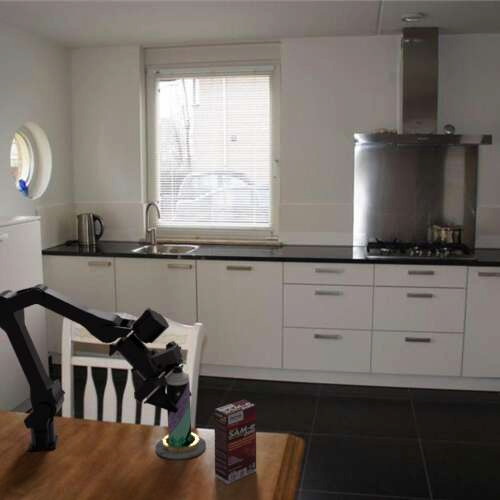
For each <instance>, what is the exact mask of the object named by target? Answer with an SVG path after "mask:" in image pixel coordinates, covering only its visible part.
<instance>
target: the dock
mask: <svg viewBox="0 0 500 500" xmlns="http://www.w3.org/2000/svg"><path fill="white" fill-rule="evenodd" d="M206 448H207V443H206V440H204V439H203V438H202V437H201V436H199V435H197V434H196V433H194V432H192V431H191V444H190V445H187V446H180V447H176V446H171V445H169V438H168V434H166V435H165V436H164V437H163V438H162V439H160V440H159V441H158V442H157V443H156V446H155V452H156V454H157V455H158V456H160V457H161V458H163V459H167V460H171V461H182V460H190V459H193V458H197V457H198V456H200V455H202V454H203V453H205V451H206Z"/></svg>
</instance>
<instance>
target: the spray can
mask: <svg viewBox="0 0 500 500" xmlns="http://www.w3.org/2000/svg"><path fill="white" fill-rule="evenodd" d="M165 381H166V385H165V386H166V387H165V389H166V394H167V395H168V396H169V397H170V399H171V400H172V401H173V403H174V404H175V405H176V407H177V408H178V412H177V413H173V412H171V411H168V410H166V411H167V433H168V434H167V435H168V438H169V445H171V446H176V447H180V446H187V445H190V444H191V432H192V422H191V421H192V420H191V416H192V415H191V396H190V392H191V390H190V388H191V387H190V377H189V374H188V373H187V372H184V370H183V369H181V367H180V365H179V366H174V370H173V371H172V373H171V374H169V375H167V379H165Z"/></svg>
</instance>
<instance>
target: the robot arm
mask: <svg viewBox="0 0 500 500" xmlns="http://www.w3.org/2000/svg"><path fill="white" fill-rule="evenodd" d="M34 305H38V306H40V307H43V308H45V309H47V310H49V311H51V312H52V313H55V314H57V315H59V316H62V317H63V318H66V319H67V320H69V321H72V322H74V323H76V324H78V325H80V326H82V327H83V328H84V330H85V329H86V331H87V332H88V333H89V334H90V335H91V336H93V337H94V338H95V339H97V340H99V341H100V342H101V343H103V344H108V347H109V350H108V356H109V357H112V356H114V355H115V354H117V353H118V354H119V355H120V356H121V357H123V359H124V360H125V361H126V362H127V363H128V364H129V365H130V366H131V369H130V372H131V373H132V374H134V373H135V372H137V374H138V375H139V376H140V377H141V378H142V379H143V381H142V384H141V385H140V386H139V387H138V388H137V389H136V390H135V391H134V392H133V397H134V399H135V401H136V402H137V403H139V404H141V403H143V405H144V404H148V405H151V406H155V407H157V408H160V409H163V410H165V411H167V410H168V411H171V412H173V413H177V412H178V408H177V407H176V405H175V404H174V403H173V401H172V400H171V399H170V397H169V396H168V395H167V391H166V390H165V389H166V387H165V386H166V385H165V384H166V379H167V375H169V374H171V373H172V371H173V370H174V366H180V365H181V366H180V367H181V369H182V370H183V368H184V364H182V363H183V362H184V360H183V354H182V352H181V350H182V346H180V345H179V344H178V343H176V341H174V340H172V341H170V342H168V343H166V345H165V348H164V349H162V350H161V351H157V350H156V349H154V348H152V349H150V348H149V347H147V345H148V343H150V344H154V342H155V341H157V339H158V338H159V337H160V336H162V334H163V333H164V332H165V331H167V330H168V329H169V328H170V325H169V323H168V321H167V320H166V317H164V316H163V315H162V314H161V313H158V312H157V311H155V310H152V308H150V307H147V308H146V309H145V310H144V311H143V313H142V314H141V315H140V316H139V317H138V318H137V319H132V318H125V317H124V318H123V317H122V316H121V315H119V314H117V313H114V312H110V311H107V310H102V309H95V308H91V307H88V306H87V305H85V304H82V303H80V302H79V301H76V300H74V299H72V298H70V297H68V296H66V295H64V294H62V293H60V292H58V291H55V290H53V289H51V288H50V287H48V286H47V285H46V284H44V283H38V284H36V285H34V286H30V287H27V288H22V289H20V290H19V289H18V290H16V291H14V290H12V289H11V290H10V289H7V290H3V291H2V292H0V329H1V330H3V332H4V333H5V334H6V336H7V339H8V340H9V342H10V344H11V347H12V349H13V352H14V354H15V357H16V358H17V361H18V363H19V365H20V368H21V370H22V372H23V374H24V376H25V378H26V381H27V383H28V386H29V398H30V399H29V400H30V405H31V410H30V412H29V413H28V414H27V416H25V418H24V419H23V423H24V426H25V427H26V429H29V433H30V441H29V444H28V448H27V451H28V452H34V451H36V452H37V451H45V450H53V449H54V450H55V449H56V448H57V445H58V440H59V435H57V434H56V431H55V430H56V429H55V428H56V427H55V418H54V417H55V416H56V415H57V413H58V412H59V410H60V409H61V408H62V406H63V404H64V402H65V394H66V392H65V390H64V389H63V387H62V385H61V382H60V379H56V380H53V379H51V377H49V375H48V374H47V372H46V369H45V367H44V364H43V362H42V360H41V357H40V356H39V353H38V351H37V348H36V346H35V344H34V341H33V339H32V337H31V334H30V333H29V330H28V328H27V326H26V321H25V320H26V319H25V315H26V314H25V309H27V308H29V307H31V306H34ZM114 342H115V343H114ZM162 380H163V381H164V382H163V383H162ZM160 384H161V385H160ZM191 396H192V391H190V397H191ZM145 399H146V400H145ZM144 400H145V401H144Z"/></svg>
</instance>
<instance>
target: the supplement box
mask: <svg viewBox="0 0 500 500" xmlns="http://www.w3.org/2000/svg"><path fill="white" fill-rule="evenodd" d="M256 472H257V405H256V404H255V403H253V402H251V401H248V400H246V399H241V400H238V401H236V402H235V401H234V402H233V403H230V404H226V405H224V406H221V407H217V408H215V409H214V477H215V478H217V479H219V480H220V481H221V482H223V483H225V484H226V485H230V484H231V483H233V482H235V481H237V480H240V479H242V478H244V477H246V476H248V475H250V474H253V473H256Z"/></svg>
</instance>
